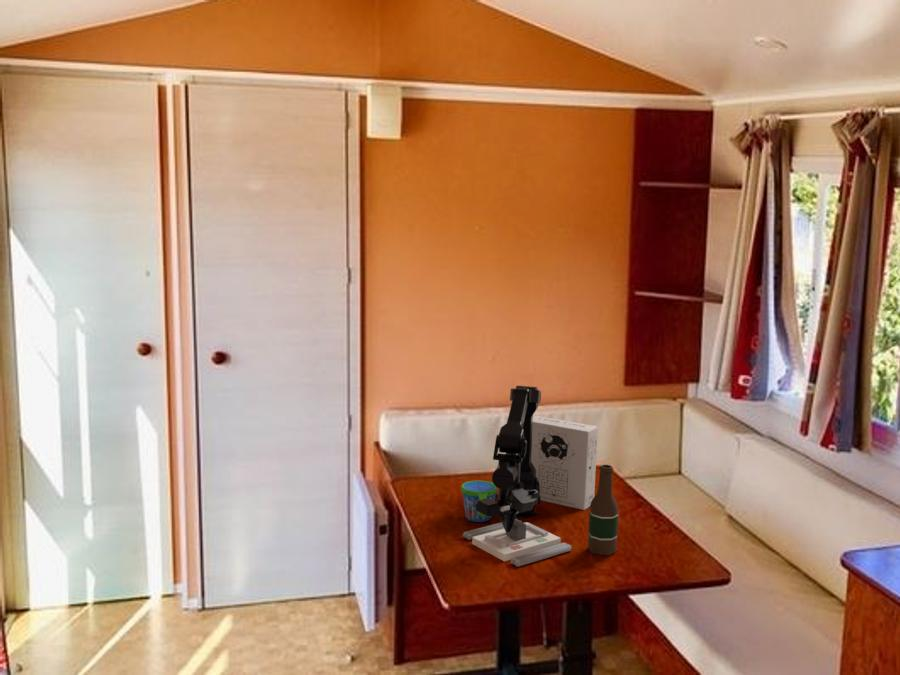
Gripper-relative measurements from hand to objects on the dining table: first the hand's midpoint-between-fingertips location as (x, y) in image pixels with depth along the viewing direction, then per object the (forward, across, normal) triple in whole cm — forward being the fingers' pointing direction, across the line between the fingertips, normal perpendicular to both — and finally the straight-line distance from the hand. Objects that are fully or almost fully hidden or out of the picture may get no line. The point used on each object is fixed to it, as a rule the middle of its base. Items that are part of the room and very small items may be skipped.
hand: (507, 531), depth 245 cm
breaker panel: (+4, +3, 0) cm, 5 cm away
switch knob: (+2, +3, 0) cm, 3 cm away
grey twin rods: (+4, +3, 0) cm, 5 cm away
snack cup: (+5, +6, +21) cm, 22 cm away
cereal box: (+5, +37, +20) cm, 42 cm away
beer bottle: (+5, +20, -16) cm, 26 cm away
